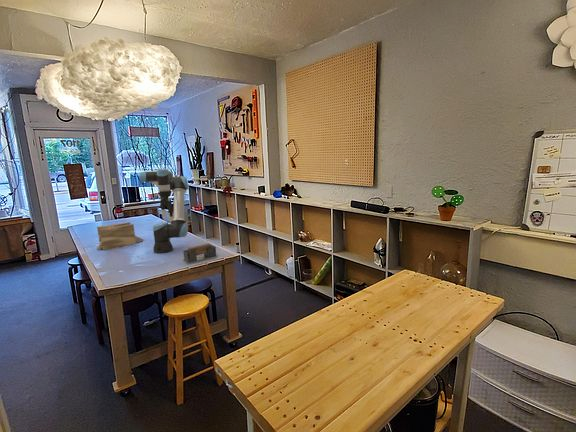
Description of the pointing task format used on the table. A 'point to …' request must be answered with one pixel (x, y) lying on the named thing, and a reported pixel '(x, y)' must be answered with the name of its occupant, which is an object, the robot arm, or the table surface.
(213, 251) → the grey rectangular holder
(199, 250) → the rail
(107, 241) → the cradle
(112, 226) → the wall bracket
